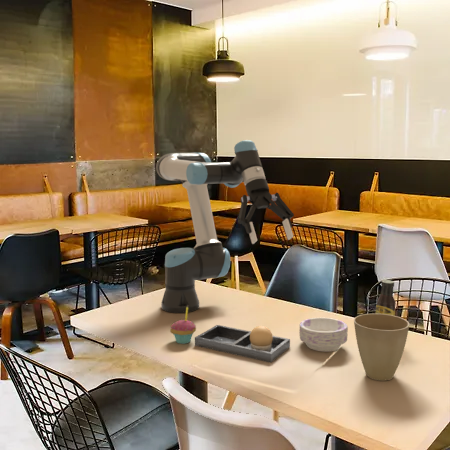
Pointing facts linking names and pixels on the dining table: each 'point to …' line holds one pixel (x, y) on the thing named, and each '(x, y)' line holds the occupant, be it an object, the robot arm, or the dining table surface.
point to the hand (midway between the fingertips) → (273, 240)
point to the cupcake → (183, 330)
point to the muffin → (261, 338)
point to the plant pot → (380, 343)
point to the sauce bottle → (386, 299)
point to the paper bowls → (323, 333)
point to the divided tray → (239, 343)
